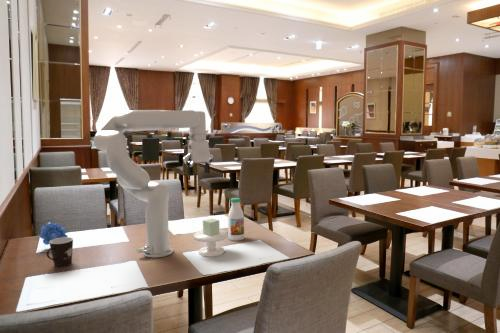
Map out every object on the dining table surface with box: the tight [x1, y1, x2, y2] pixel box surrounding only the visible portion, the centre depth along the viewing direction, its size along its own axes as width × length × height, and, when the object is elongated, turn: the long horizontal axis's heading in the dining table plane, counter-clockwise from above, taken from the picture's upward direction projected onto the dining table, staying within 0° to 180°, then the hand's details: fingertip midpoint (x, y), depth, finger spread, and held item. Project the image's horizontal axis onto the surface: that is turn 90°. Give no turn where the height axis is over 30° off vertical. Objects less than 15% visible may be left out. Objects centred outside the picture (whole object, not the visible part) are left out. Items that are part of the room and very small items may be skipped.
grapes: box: [38, 222, 69, 246], centre depth 178 cm, size 12×7×12 cm, turn 120°
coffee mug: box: [46, 236, 74, 268], centre depth 156 cm, size 12×9×10 cm
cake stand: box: [193, 228, 229, 258], centre depth 168 cm, size 15×15×8 cm
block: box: [202, 218, 220, 236], centre depth 167 cm, size 5×5×6 cm
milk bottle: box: [227, 197, 245, 242], centre depth 186 cm, size 8×8×20 cm
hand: (199, 174), depth 182 cm, fingers open, 9 cm apart
